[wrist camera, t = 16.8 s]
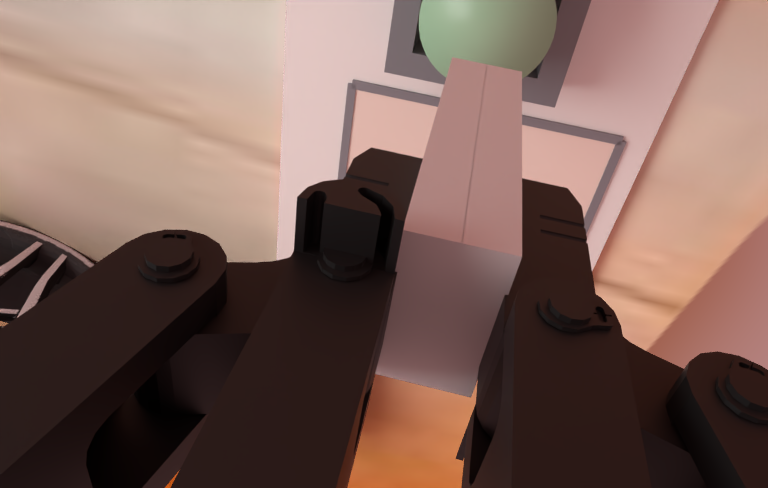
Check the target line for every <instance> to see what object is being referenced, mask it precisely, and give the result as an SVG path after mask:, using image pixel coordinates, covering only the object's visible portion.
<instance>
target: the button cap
mask: <svg viewBox="0 0 768 488" xmlns="http://www.w3.org/2000/svg"><path fill="white" fill-rule="evenodd" d="M556 23H557V9H556V3H555V0H423V1H422V4H421V8H420V14H419V33H420V39H421V42H422V46H423V49H424V51H425V53H426V55H427V57H428V59H429V60H430V62H431V63H432V65H433V66H434V67H435V68H436V69H437V70H438V71H439V72H440V73H441V74H442V75H443V76H444V77H447V74H448V70H449V67H450V63H451V60H452V57H454V58H459V59H464V60H468V61H473V62H478V63H483V64H488V65H493V66H497V67H502V68H507V69H512V70H517V71H522V79H523V78H524V77H526V76H527V75H528V74H529V73H531V72H532V71H533V70H534V69H535V68H536V67H537V66H538V65H539V64H540V63H541V61H542V60H543V58H544V57H545V55H546V54H547V52H548V50H549V48H550V46H551V43H552V41H553V38H554V34H555V30H556Z"/></svg>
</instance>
